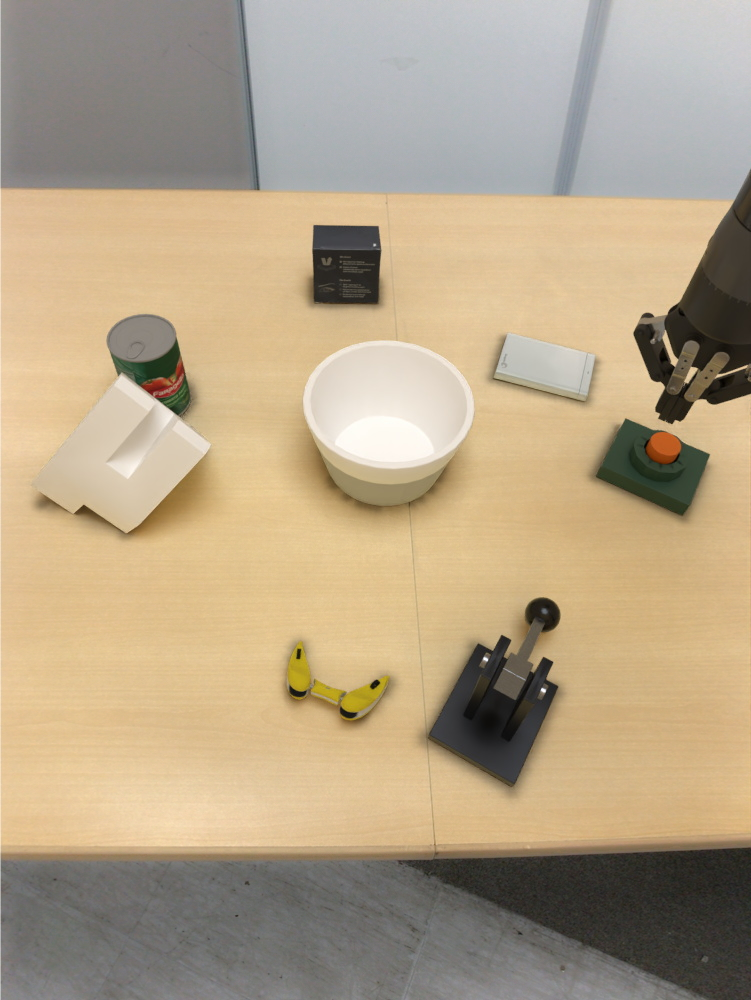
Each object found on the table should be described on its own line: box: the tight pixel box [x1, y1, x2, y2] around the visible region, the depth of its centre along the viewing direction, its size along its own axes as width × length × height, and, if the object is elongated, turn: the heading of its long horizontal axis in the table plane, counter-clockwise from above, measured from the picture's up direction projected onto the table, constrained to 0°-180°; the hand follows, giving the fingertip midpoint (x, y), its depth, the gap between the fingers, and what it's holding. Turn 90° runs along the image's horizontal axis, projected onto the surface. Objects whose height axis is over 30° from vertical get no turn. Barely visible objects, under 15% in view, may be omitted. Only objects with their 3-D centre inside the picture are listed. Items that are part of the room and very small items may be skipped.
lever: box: [493, 596, 562, 700], centre depth 71 cm, size 15×4×4 cm
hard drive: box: [493, 331, 597, 402], centre depth 100 cm, size 2×8×12 cm
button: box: [646, 431, 681, 464], centre depth 88 cm, size 4×4×2 cm
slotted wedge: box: [29, 373, 212, 534], centre depth 81 cm, size 14×11×18 cm
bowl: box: [301, 339, 476, 507], centre depth 87 cm, size 19×19×11 cm
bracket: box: [427, 634, 559, 788], centre depth 69 cm, size 11×9×12 cm
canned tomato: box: [105, 313, 192, 418], centre depth 90 cm, size 8×8×11 cm
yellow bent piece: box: [285, 640, 390, 721], centre depth 73 cm, size 10×6×4 cm, turn 68°
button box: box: [595, 417, 711, 516], centre depth 90 cm, size 11×9×4 cm
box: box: [311, 224, 382, 305], centre depth 104 cm, size 9×6×10 cm, turn 92°
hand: (667, 416), depth 71 cm, fingers closed
